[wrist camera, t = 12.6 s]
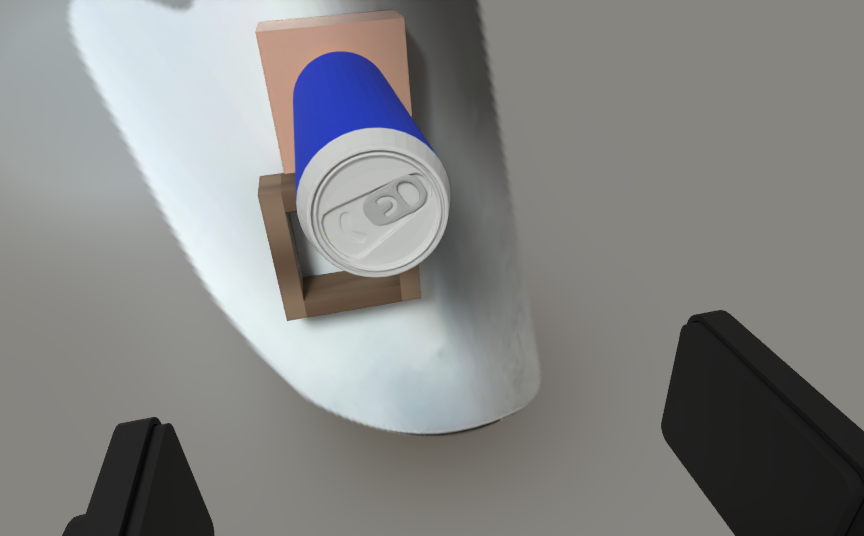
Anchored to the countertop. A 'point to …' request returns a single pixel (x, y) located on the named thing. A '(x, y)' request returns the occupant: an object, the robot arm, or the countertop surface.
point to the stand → (312, 37)
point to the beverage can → (364, 170)
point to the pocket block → (324, 289)
